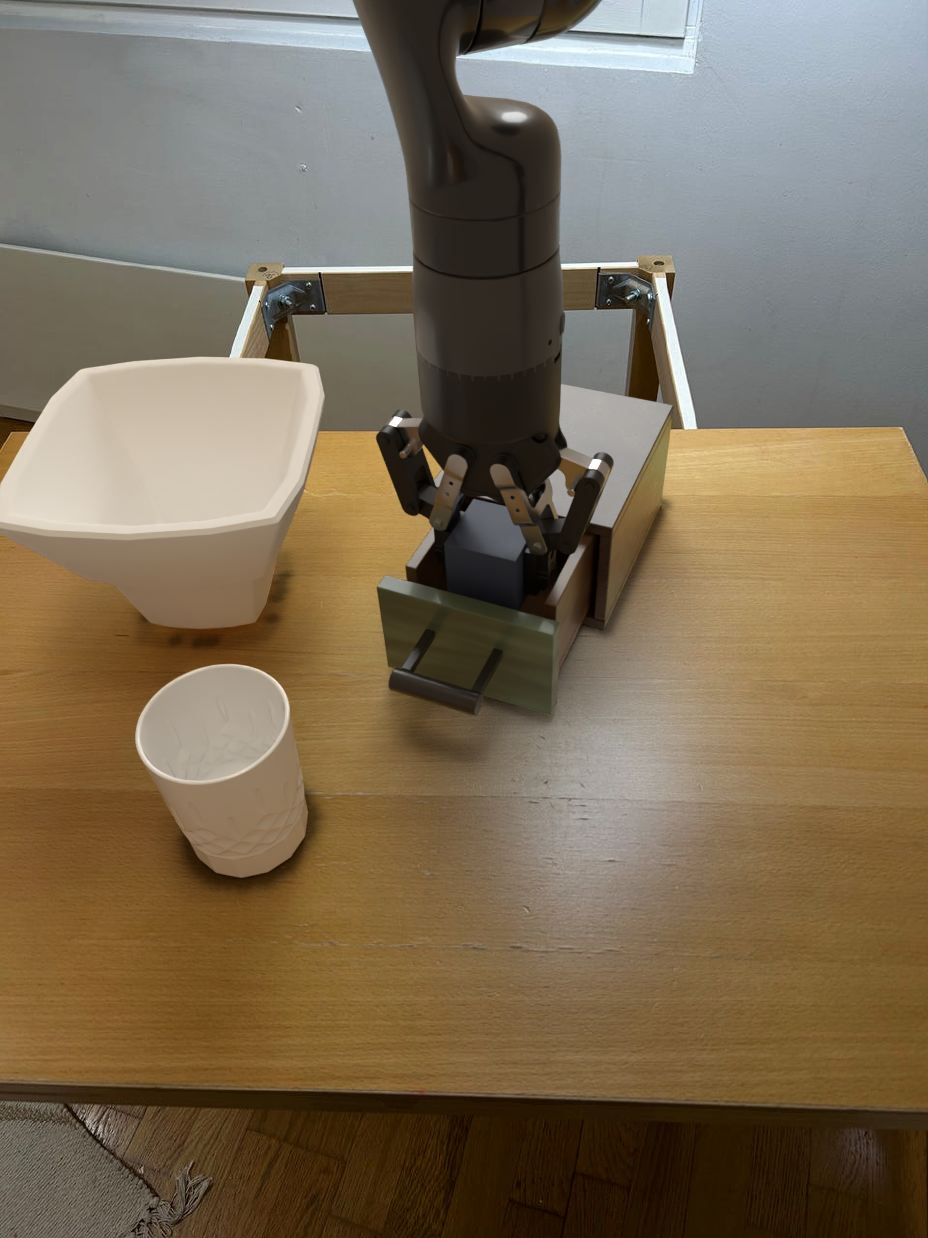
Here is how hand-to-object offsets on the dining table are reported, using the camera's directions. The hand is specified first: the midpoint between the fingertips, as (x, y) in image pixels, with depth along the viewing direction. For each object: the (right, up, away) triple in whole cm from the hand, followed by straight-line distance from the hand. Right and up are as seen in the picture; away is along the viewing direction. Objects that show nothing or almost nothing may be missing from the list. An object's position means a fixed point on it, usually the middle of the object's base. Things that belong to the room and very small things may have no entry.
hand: (495, 575), depth 62 cm
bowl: (-20, -1, +10) cm, 22 cm away
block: (0, -1, +1) cm, 1 cm away
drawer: (0, -5, +4) cm, 6 cm away
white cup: (-15, -15, -4) cm, 21 cm away
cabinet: (+5, +3, +12) cm, 13 cm away
